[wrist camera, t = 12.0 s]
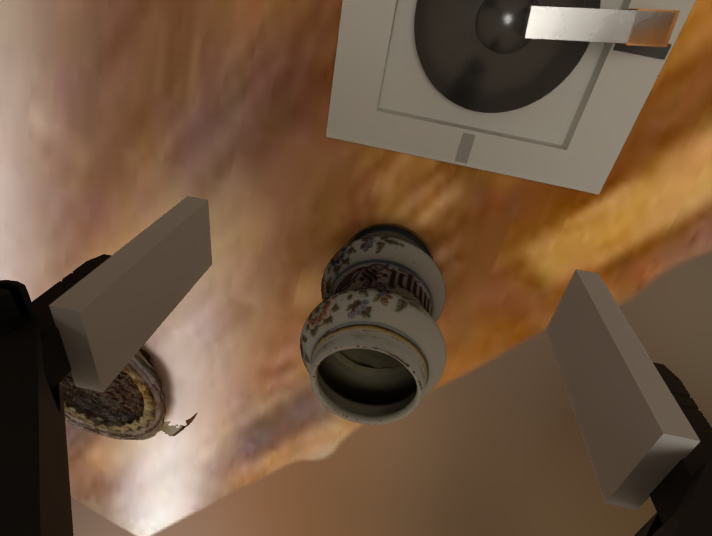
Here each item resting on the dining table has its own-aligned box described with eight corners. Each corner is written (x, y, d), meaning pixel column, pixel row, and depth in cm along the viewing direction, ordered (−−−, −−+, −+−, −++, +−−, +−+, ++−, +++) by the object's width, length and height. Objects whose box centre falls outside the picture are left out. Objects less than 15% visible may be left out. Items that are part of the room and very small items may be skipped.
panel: (375, -204, 28) (370, -224, 26) (745, -142, 27) (775, -158, 25) (332, 129, 40) (325, 137, 38) (589, 183, 39) (599, 195, 36)
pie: (-5, 346, 66) (-35, 369, 61) (80, 254, 54) (50, 275, 50) (139, 451, 74) (122, 477, 70) (240, 392, 62) (226, 419, 58)
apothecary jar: (381, 325, 51) (356, 459, 36) (311, 254, 47) (251, 369, 32) (467, 274, 46) (482, 406, 30) (396, 190, 42) (372, 291, 27)
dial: (406, 104, 37) (402, 118, 32) (425, -92, 30) (423, -112, 25) (606, 118, 35) (634, 135, 30) (675, -88, 28) (724, -109, 23)
